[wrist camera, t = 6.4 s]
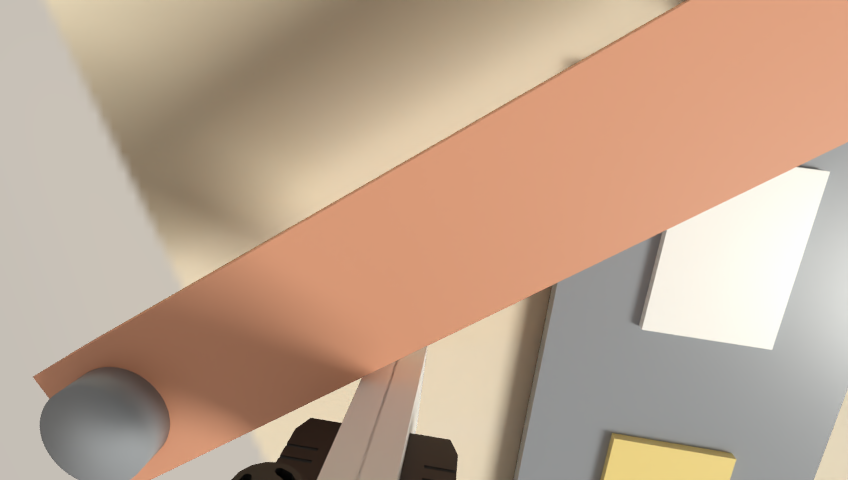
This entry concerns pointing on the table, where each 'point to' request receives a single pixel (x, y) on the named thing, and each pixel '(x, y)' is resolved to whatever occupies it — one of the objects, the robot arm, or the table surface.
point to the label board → (702, 344)
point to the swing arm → (462, 231)
